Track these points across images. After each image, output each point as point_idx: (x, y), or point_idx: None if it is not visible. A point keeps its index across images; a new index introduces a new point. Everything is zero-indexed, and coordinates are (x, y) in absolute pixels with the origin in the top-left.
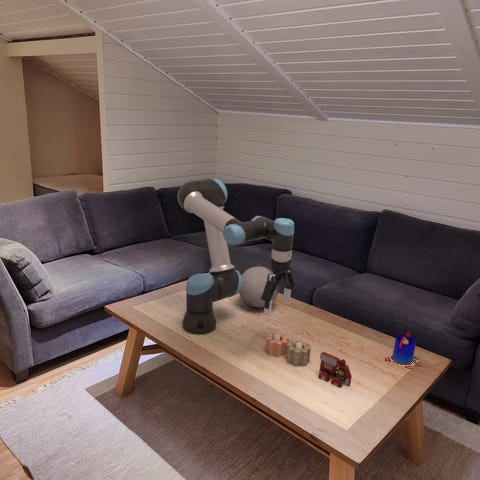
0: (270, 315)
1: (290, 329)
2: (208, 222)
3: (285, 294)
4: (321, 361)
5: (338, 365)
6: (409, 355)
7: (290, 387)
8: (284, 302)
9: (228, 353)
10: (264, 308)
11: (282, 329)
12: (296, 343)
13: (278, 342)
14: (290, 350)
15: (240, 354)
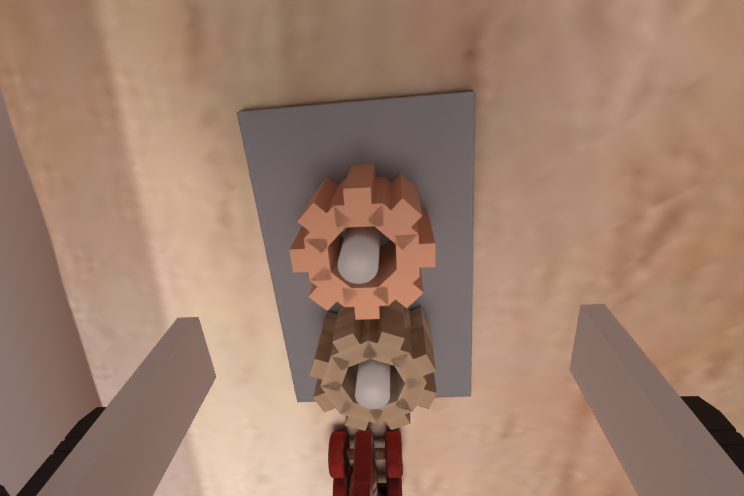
0: (206, 383)
1: (665, 116)
2: None
3: (637, 419)
4: (353, 481)
5: None
6: None
7: (225, 381)
8: (581, 326)
9: (162, 14)
10: (138, 369)
11: (636, 76)
12: (362, 387)
13: (325, 290)
14: (310, 371)
15: (215, 78)
